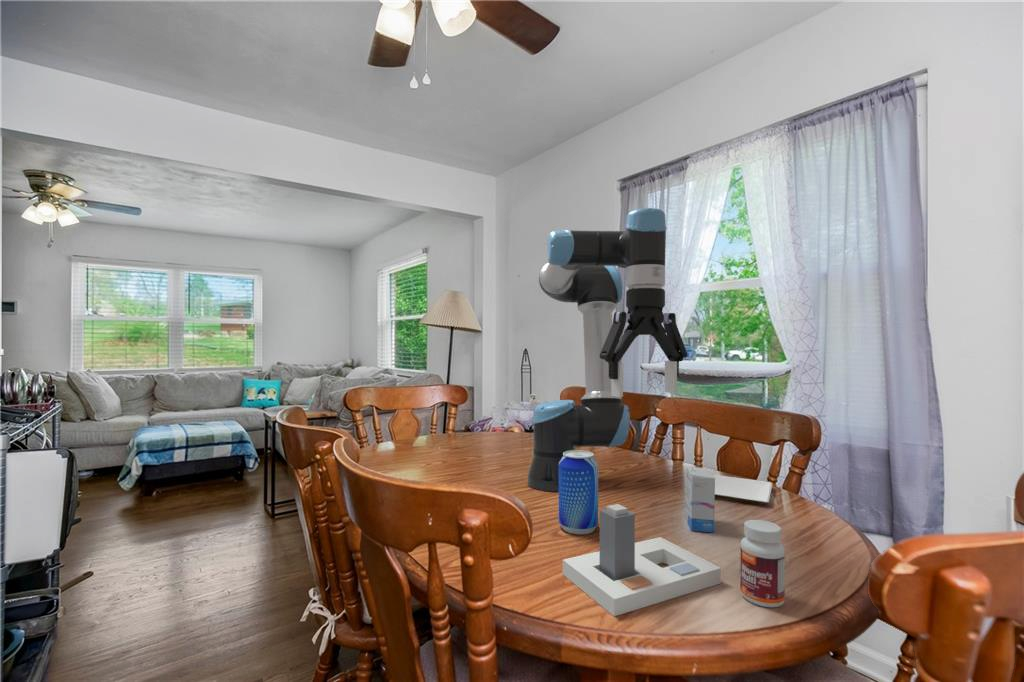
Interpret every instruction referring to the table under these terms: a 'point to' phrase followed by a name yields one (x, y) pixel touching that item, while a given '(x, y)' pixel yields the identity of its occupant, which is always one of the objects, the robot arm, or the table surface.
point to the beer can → (578, 492)
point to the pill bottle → (762, 564)
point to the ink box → (699, 499)
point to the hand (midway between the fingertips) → (644, 394)
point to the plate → (742, 489)
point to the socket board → (643, 576)
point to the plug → (617, 542)
